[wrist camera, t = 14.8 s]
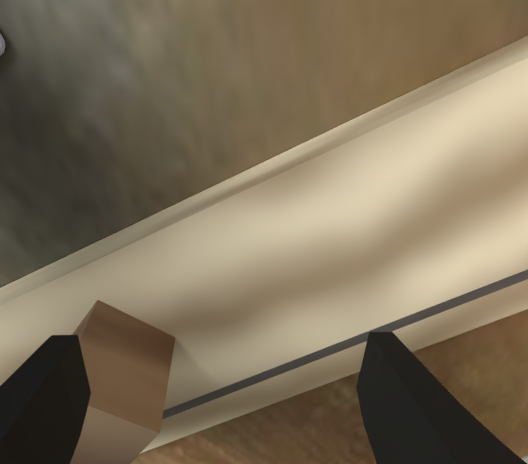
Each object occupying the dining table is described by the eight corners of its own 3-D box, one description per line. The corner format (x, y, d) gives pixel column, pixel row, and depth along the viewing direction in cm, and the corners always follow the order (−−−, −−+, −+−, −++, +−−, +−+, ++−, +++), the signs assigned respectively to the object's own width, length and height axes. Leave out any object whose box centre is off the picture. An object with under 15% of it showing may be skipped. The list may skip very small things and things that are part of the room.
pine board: (-49, 311, 21) (-75, 340, 19) (567, 16, 16) (609, 19, 14) (100, 440, 26) (91, 471, 25) (587, 252, 21) (618, 275, 20)
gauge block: (97, 299, 18) (56, 393, 14) (175, 337, 20) (159, 433, 16) (25, 398, 21) (-28, 502, 17) (98, 425, 23) (66, 527, 18)
